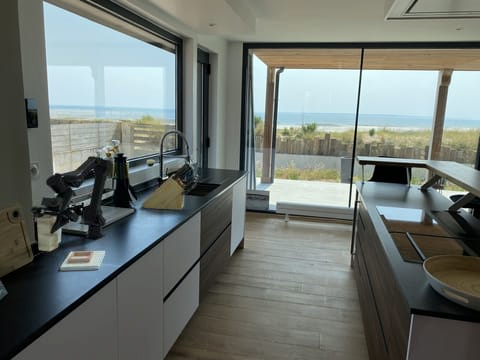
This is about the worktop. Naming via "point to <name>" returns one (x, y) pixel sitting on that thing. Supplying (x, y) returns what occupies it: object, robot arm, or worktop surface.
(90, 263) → the base plate
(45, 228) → the maple pillar
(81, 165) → the robot arm
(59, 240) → the white cup
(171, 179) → the knife block
